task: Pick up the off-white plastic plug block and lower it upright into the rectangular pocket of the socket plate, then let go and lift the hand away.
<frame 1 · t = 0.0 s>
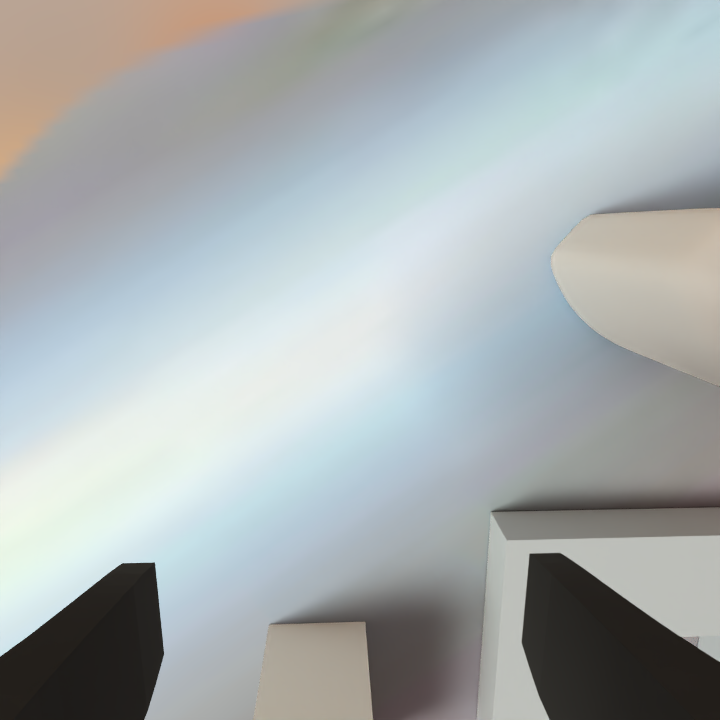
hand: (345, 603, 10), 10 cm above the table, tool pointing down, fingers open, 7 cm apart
plug block: (318, 681, 23), on the table
eye dropper bottle: (612, 284, 19), on the table
socket plate: (636, 672, 23), on the table
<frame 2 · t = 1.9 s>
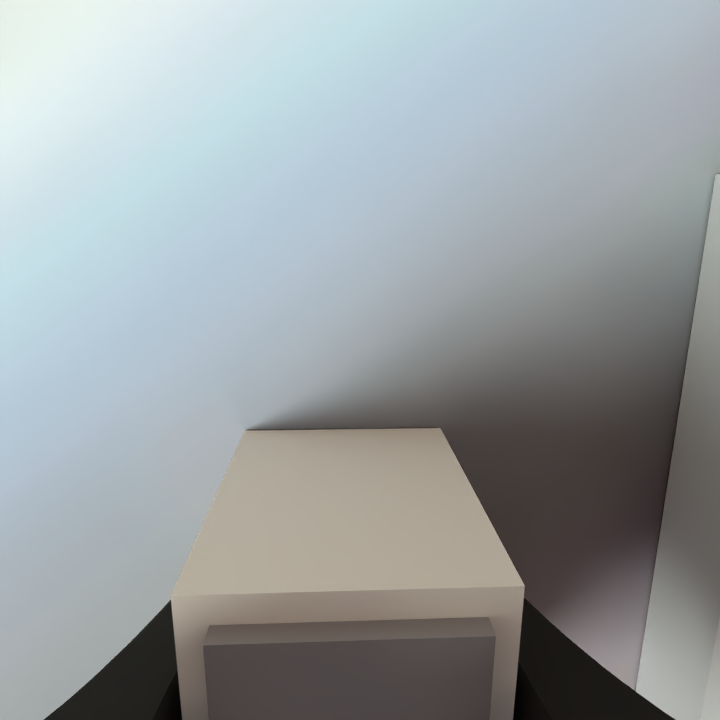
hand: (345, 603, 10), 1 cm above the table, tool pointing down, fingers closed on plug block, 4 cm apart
plug block: (343, 558, 12), on the table, touching gripper
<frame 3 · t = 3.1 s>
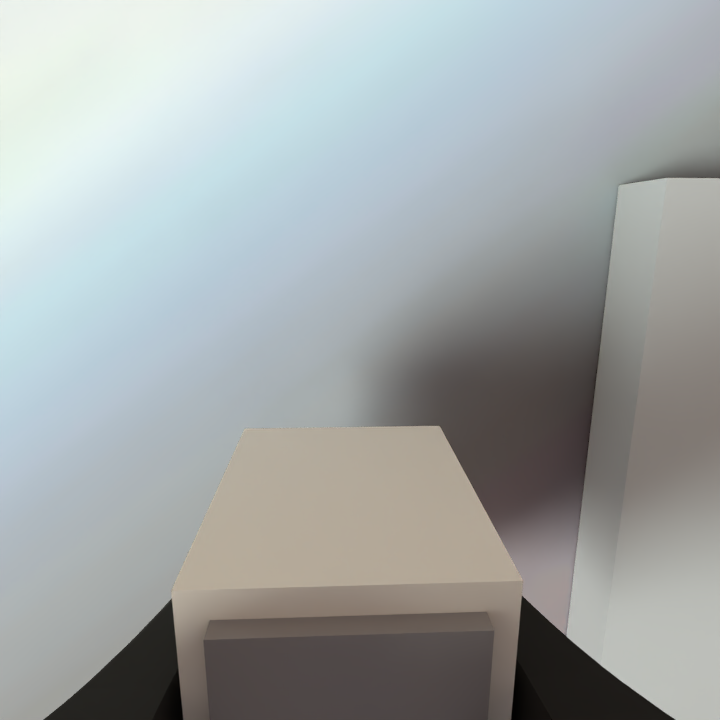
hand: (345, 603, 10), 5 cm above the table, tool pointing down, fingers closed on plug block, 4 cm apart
plug block: (343, 556, 12), point 3 cm above the table, touching gripper
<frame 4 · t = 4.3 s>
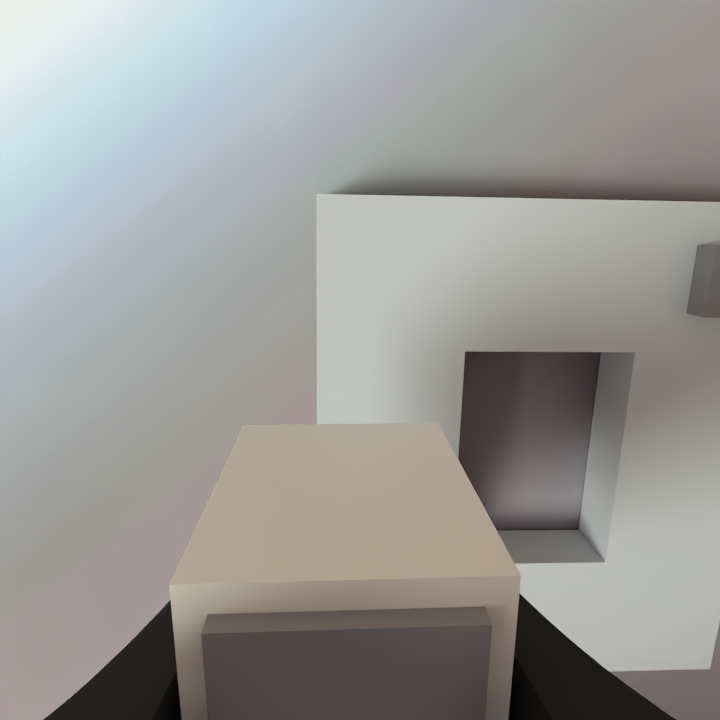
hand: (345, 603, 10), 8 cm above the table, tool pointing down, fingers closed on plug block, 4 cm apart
plug block: (342, 553, 12), point 7 cm above the table, touching gripper
socket plate: (518, 438, 19), on the table
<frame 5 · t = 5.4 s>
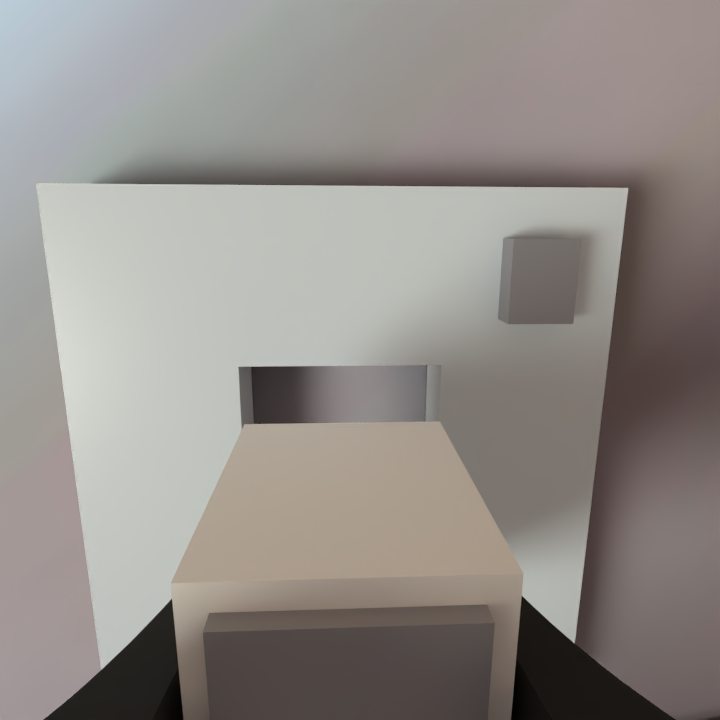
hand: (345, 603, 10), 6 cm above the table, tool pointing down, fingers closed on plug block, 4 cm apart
plug block: (343, 552, 12), point 5 cm above the table, touching gripper
socket plate: (340, 462, 16), on the table
when the fingers open (3 cm above the table, at t = 6.5 s): plug block drops 2 cm, resting in socket plate.
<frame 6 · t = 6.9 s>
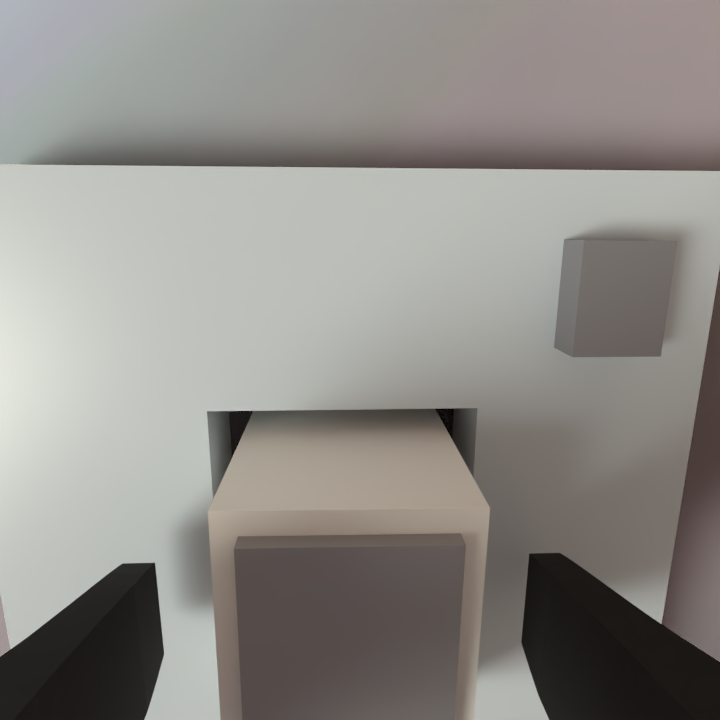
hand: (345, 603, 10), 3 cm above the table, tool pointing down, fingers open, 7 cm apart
plug block: (344, 515, 13), resting in socket plate
socket plate: (343, 522, 13), on the table
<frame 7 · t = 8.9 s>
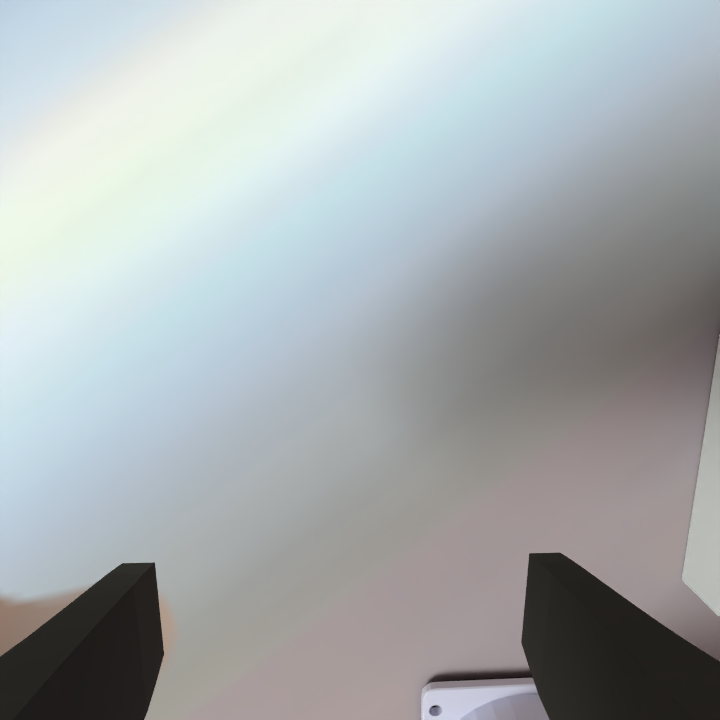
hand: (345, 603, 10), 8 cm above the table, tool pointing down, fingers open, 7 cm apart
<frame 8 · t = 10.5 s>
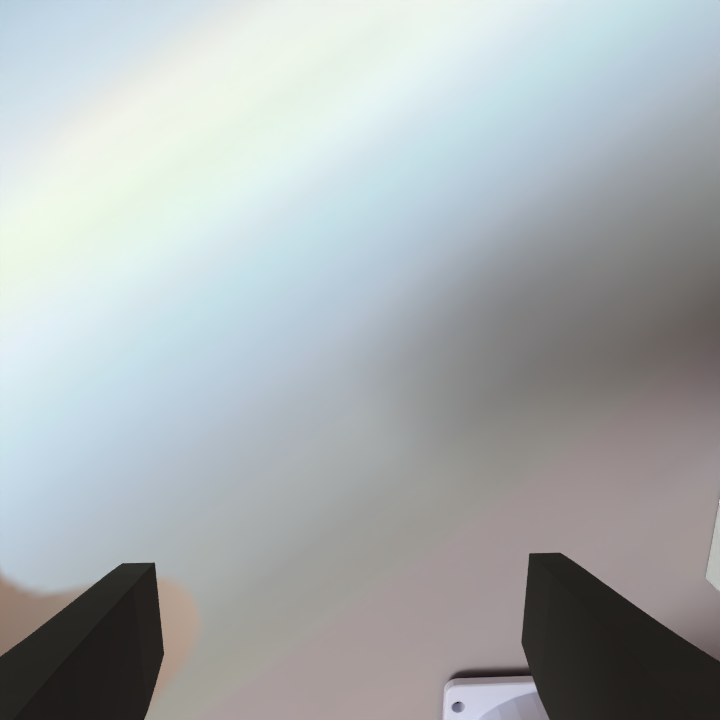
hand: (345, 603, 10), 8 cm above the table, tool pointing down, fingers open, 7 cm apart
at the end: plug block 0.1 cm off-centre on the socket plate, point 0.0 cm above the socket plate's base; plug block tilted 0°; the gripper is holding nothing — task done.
